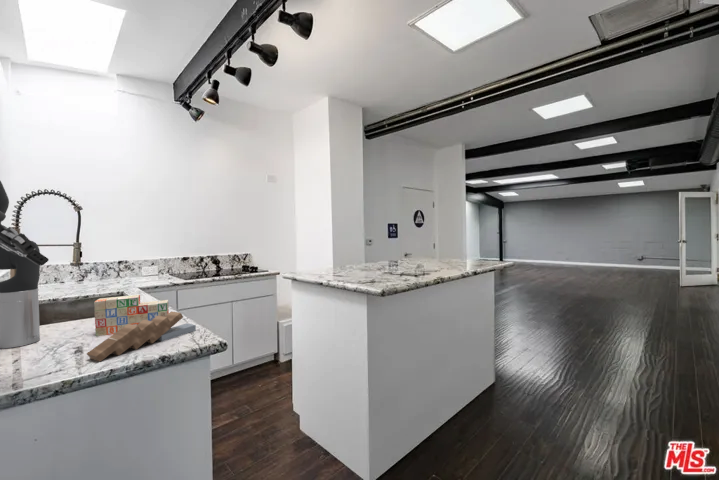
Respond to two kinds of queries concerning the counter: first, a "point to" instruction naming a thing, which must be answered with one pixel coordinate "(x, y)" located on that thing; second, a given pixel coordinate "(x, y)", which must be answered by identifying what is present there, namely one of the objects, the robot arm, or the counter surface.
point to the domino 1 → (113, 342)
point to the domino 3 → (152, 331)
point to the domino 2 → (136, 336)
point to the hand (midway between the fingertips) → (44, 262)
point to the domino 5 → (177, 331)
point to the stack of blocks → (125, 312)
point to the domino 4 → (173, 319)
